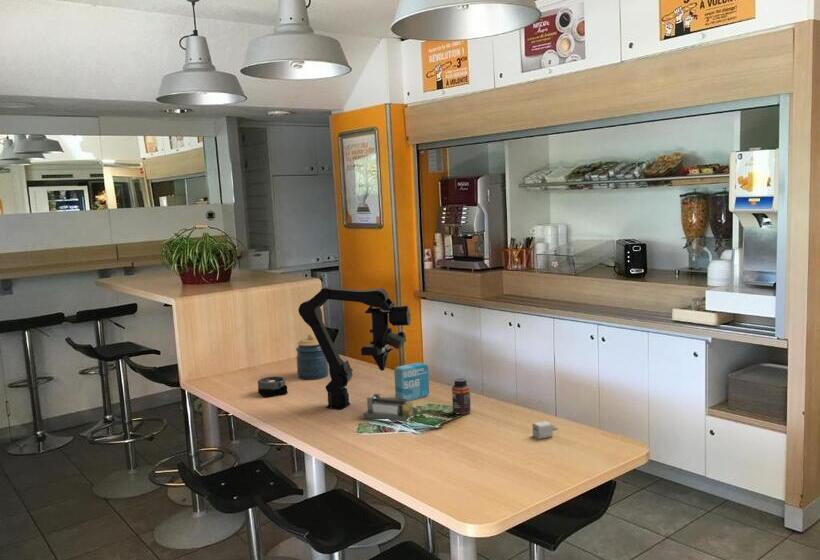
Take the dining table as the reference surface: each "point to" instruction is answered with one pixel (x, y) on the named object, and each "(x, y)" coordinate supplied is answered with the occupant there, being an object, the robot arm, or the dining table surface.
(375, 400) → the dark grey bar
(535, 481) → the dining table surface
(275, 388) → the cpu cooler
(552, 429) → the usb wall charger
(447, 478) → the dining table surface
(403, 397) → the data package
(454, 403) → the supplement bottle
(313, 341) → the canister
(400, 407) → the heatsink
